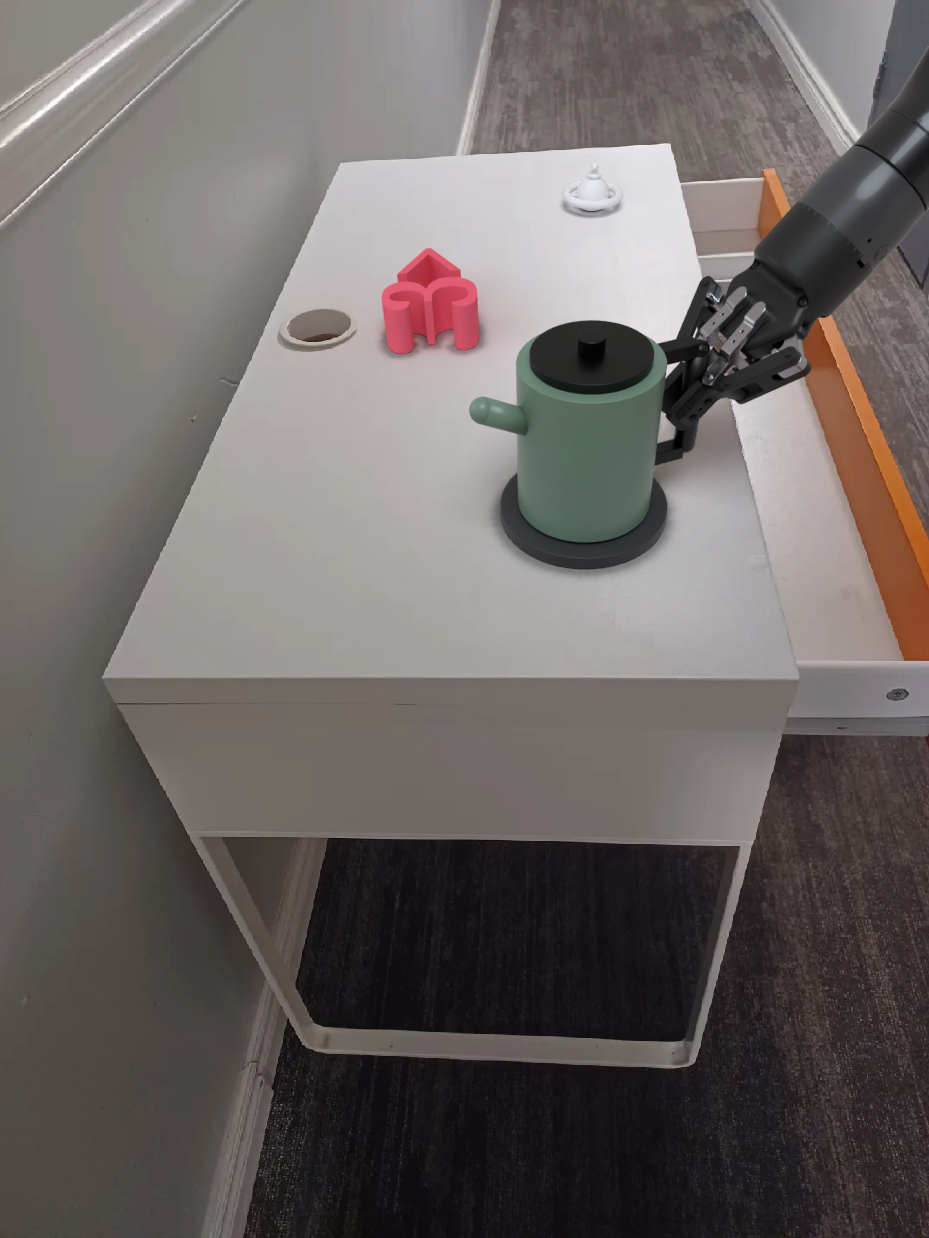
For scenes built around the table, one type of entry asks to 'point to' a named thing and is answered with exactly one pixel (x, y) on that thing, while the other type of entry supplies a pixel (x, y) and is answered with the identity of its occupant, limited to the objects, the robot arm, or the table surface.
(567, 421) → the kettle
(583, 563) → the kettle base
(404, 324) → the pink curled block
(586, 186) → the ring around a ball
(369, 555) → the table surface
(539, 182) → the table surface
